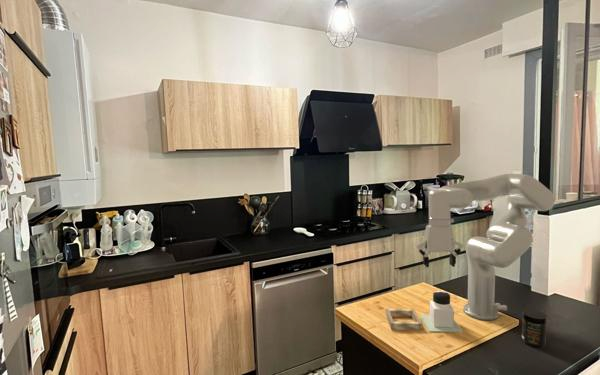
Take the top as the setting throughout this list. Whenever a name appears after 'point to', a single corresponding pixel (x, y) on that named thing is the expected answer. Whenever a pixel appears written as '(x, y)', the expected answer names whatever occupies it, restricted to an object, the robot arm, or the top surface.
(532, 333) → the supplement container
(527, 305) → the top surface
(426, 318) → the mat
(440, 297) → the medicine bottle
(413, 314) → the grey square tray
